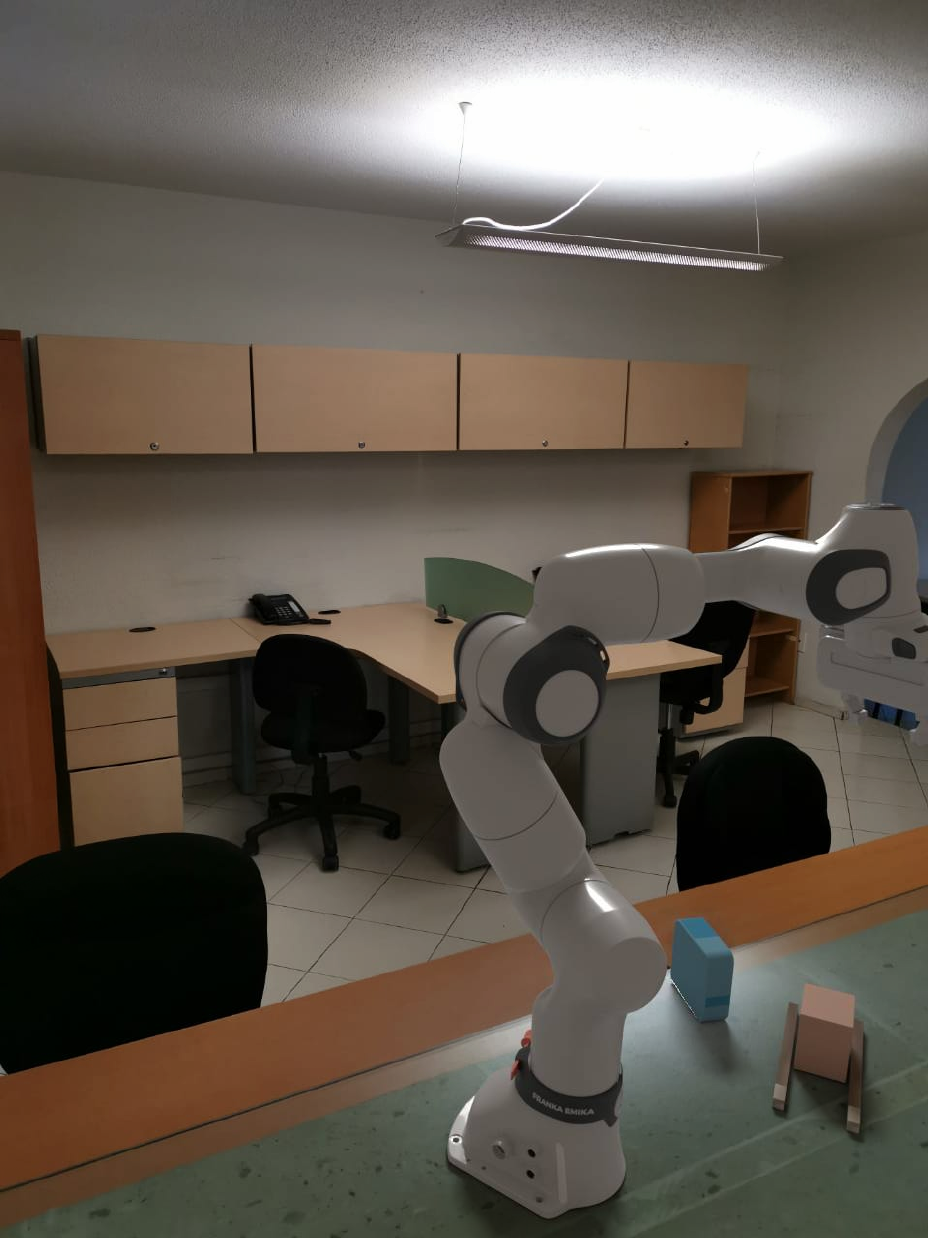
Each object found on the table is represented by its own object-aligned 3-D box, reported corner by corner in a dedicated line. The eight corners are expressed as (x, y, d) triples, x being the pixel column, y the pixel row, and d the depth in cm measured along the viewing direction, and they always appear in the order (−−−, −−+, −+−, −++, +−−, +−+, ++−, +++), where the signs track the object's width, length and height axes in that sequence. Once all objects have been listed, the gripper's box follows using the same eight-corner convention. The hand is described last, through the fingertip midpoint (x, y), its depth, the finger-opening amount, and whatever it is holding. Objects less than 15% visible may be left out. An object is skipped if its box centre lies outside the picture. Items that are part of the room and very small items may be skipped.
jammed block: (793, 1068, 135) (800, 1014, 133) (798, 1035, 142) (804, 983, 140) (845, 1083, 132) (853, 1028, 130) (847, 1048, 139) (854, 995, 137)
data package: (728, 1023, 145) (735, 955, 142) (701, 1027, 144) (708, 958, 141) (694, 977, 156) (700, 913, 153) (668, 980, 155) (674, 915, 152)
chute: (772, 1107, 128) (773, 1097, 127) (787, 1010, 148) (788, 1002, 148) (858, 1133, 124) (859, 1124, 123) (862, 1030, 144) (863, 1021, 144)
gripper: (801, 623, 124) (808, 719, 127) (935, 652, 106) (940, 764, 109) (836, 611, 126) (843, 706, 130) (973, 637, 108) (977, 747, 111)
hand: (888, 733), depth 119 cm, fingers open, 8 cm apart
